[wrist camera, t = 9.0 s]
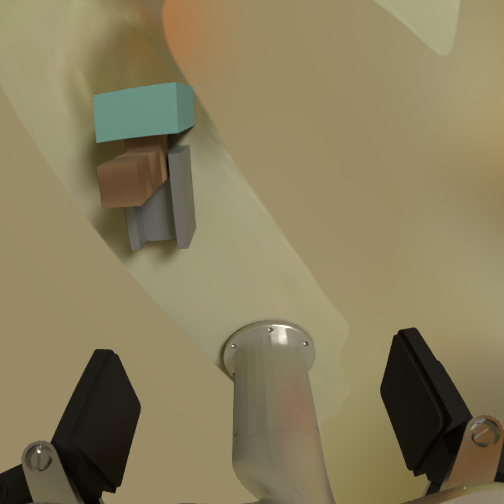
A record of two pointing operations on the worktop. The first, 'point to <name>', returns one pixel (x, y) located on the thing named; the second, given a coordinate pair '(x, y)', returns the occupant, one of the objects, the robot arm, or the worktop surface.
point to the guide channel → (166, 207)
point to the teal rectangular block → (143, 111)
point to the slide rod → (134, 172)
